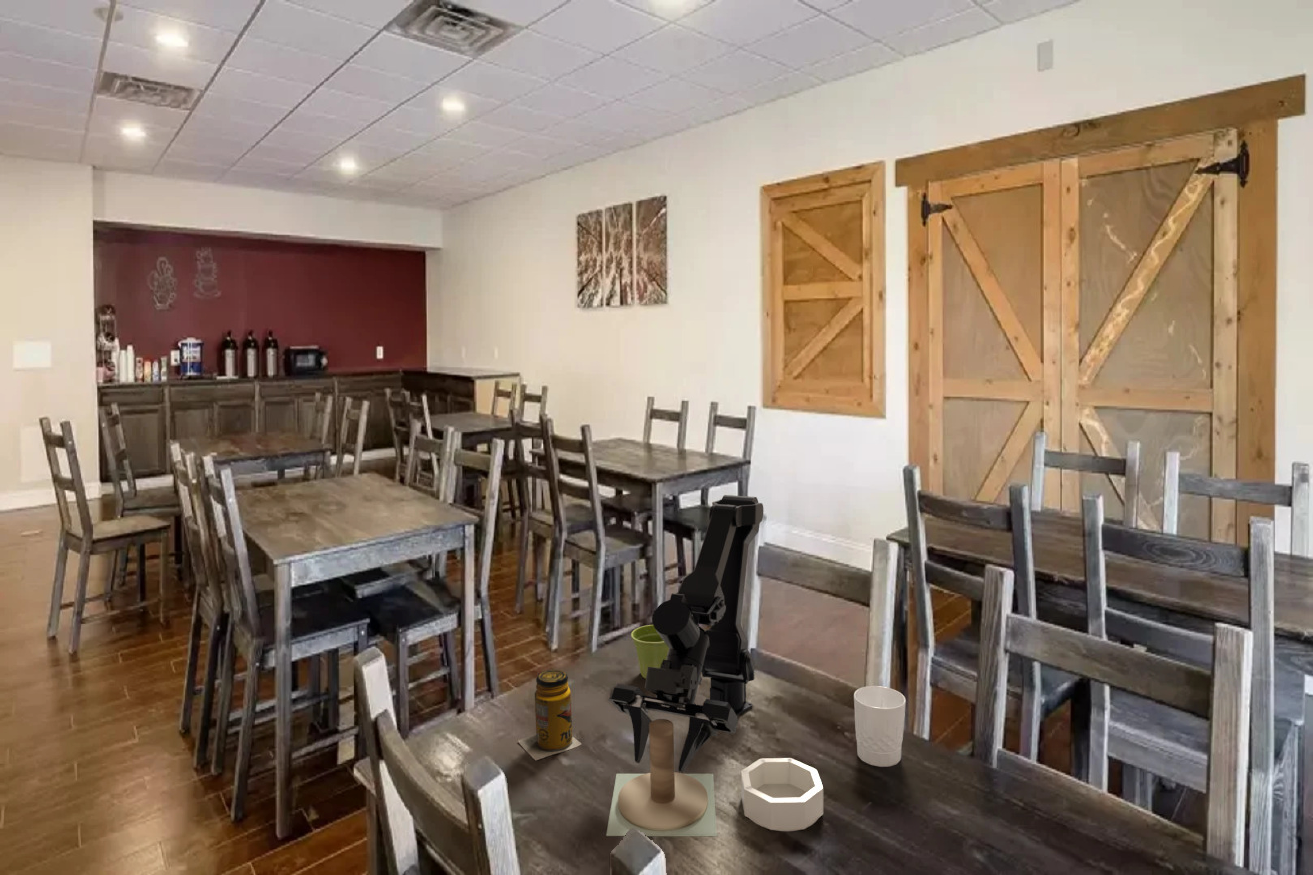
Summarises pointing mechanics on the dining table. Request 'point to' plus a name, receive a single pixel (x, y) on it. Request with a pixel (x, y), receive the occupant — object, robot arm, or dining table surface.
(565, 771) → the dining table surface
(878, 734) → the white cup
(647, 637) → the plant pot
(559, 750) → the condiment
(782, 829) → the ceramic bowl
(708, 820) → the sage mat
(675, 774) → the birch cover
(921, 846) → the dining table surface
